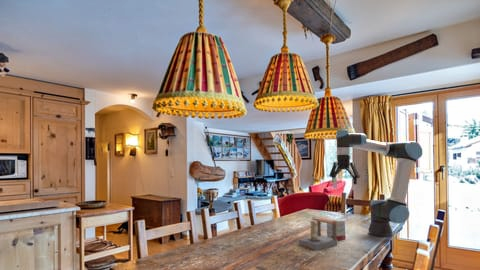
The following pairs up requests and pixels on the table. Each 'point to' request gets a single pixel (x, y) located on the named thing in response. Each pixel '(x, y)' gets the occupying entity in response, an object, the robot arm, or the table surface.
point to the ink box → (337, 229)
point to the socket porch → (322, 240)
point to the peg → (314, 231)
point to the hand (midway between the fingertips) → (344, 189)
